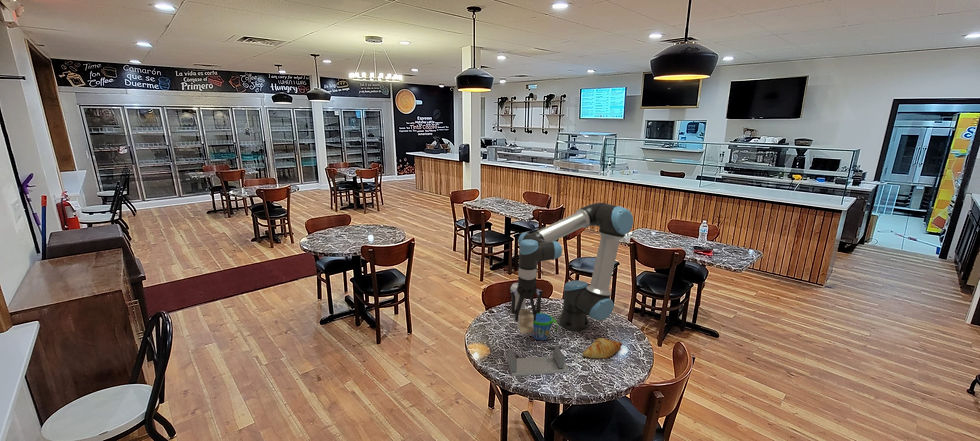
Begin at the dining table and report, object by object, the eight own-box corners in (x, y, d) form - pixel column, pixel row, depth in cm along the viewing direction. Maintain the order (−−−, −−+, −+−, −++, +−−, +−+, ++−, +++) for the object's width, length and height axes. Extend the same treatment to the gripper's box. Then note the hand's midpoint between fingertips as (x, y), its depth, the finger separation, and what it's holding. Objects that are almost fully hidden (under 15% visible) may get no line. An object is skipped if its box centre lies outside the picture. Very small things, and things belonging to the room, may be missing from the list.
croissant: (586, 368, 178) (593, 358, 173) (574, 348, 184) (580, 338, 179) (624, 356, 186) (631, 346, 181) (611, 338, 193) (618, 328, 188)
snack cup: (557, 333, 200) (559, 314, 197) (556, 344, 190) (557, 324, 187) (526, 329, 203) (527, 310, 200) (523, 340, 193) (523, 320, 190)
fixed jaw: (512, 359, 175) (512, 349, 173) (516, 371, 166) (516, 361, 165) (507, 359, 174) (507, 349, 173) (511, 372, 166) (512, 361, 164)
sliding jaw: (560, 352, 180) (560, 342, 178) (568, 367, 169) (569, 356, 168) (546, 353, 179) (547, 343, 178) (554, 368, 168) (555, 357, 167)
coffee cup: (530, 311, 223) (531, 285, 219) (519, 316, 216) (520, 290, 212) (517, 305, 229) (518, 280, 225) (506, 311, 222) (506, 285, 219)
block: (528, 323, 179) (529, 309, 177) (532, 332, 171) (533, 317, 169) (517, 324, 178) (518, 309, 176) (520, 333, 170) (521, 318, 169)
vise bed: (561, 358, 178) (561, 355, 178) (568, 372, 169) (568, 368, 169) (507, 362, 175) (507, 359, 175) (511, 376, 165) (511, 373, 165)
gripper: (546, 273, 173) (543, 322, 179) (504, 273, 171) (502, 324, 177) (550, 279, 166) (547, 331, 172) (507, 280, 164) (505, 332, 170)
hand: (524, 327), depth 174 cm, fingers closed on block, 5 cm apart
